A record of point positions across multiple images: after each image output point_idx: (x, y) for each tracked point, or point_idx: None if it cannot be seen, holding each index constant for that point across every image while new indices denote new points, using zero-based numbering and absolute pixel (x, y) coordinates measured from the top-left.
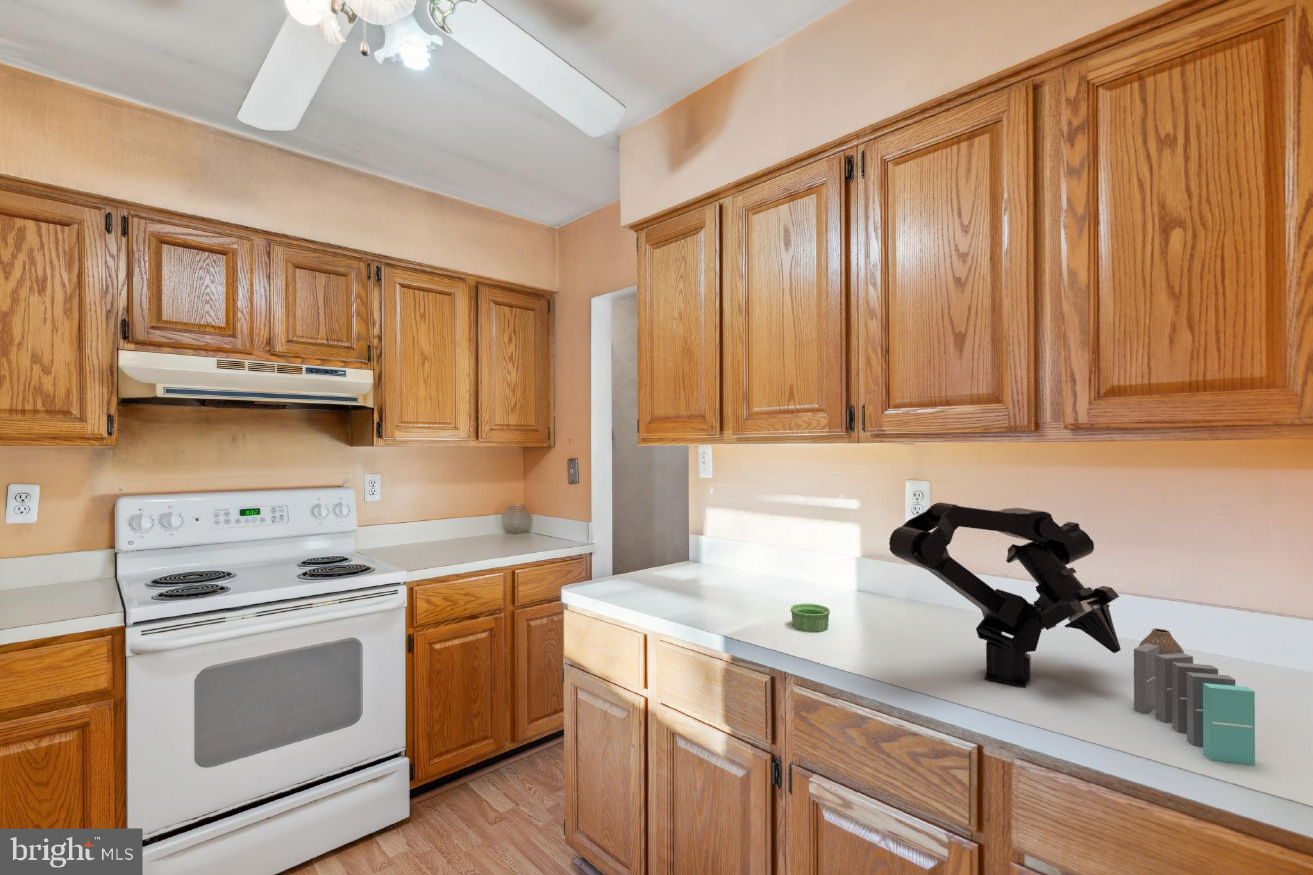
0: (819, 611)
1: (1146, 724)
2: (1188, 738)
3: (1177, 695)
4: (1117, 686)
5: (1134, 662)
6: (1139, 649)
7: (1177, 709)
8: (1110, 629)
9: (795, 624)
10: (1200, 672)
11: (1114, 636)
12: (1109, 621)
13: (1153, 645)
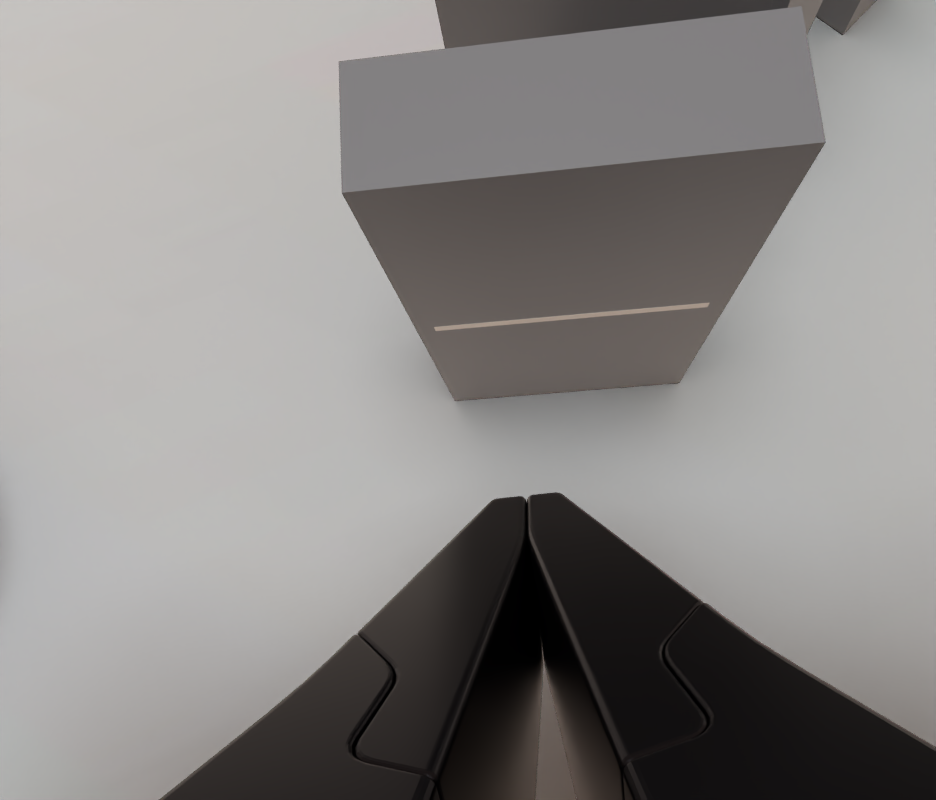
0: None
1: (842, 238)
2: (858, 13)
3: None
4: (305, 663)
5: (771, 225)
6: (772, 93)
7: (820, 5)
8: (492, 645)
9: None
10: None
11: (510, 564)
12: (425, 709)
13: (377, 100)
